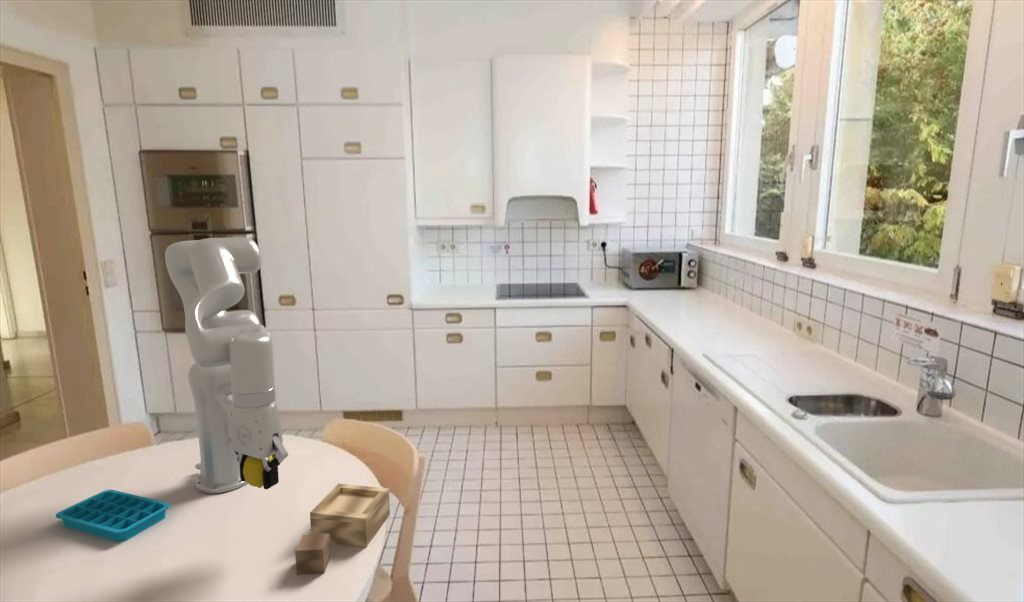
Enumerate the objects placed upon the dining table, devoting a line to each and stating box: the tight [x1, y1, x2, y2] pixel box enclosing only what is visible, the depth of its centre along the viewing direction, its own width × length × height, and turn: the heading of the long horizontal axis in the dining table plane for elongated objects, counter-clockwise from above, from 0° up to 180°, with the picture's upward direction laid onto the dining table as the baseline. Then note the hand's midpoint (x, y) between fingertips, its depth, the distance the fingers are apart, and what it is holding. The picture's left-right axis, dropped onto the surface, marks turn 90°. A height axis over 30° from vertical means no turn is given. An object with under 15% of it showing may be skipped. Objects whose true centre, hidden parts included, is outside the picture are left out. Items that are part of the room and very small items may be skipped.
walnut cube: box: [294, 533, 332, 576], centre depth 102 cm, size 5×5×5 cm
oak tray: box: [309, 483, 391, 548], centre depth 115 cm, size 12×12×6 cm
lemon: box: [243, 456, 272, 489], centre depth 107 cm, size 6×6×8 cm
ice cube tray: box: [55, 489, 171, 542], centre depth 117 cm, size 12×20×3 cm, turn 71°
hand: (259, 481), depth 108 cm, fingers closed on lemon, 5 cm apart
